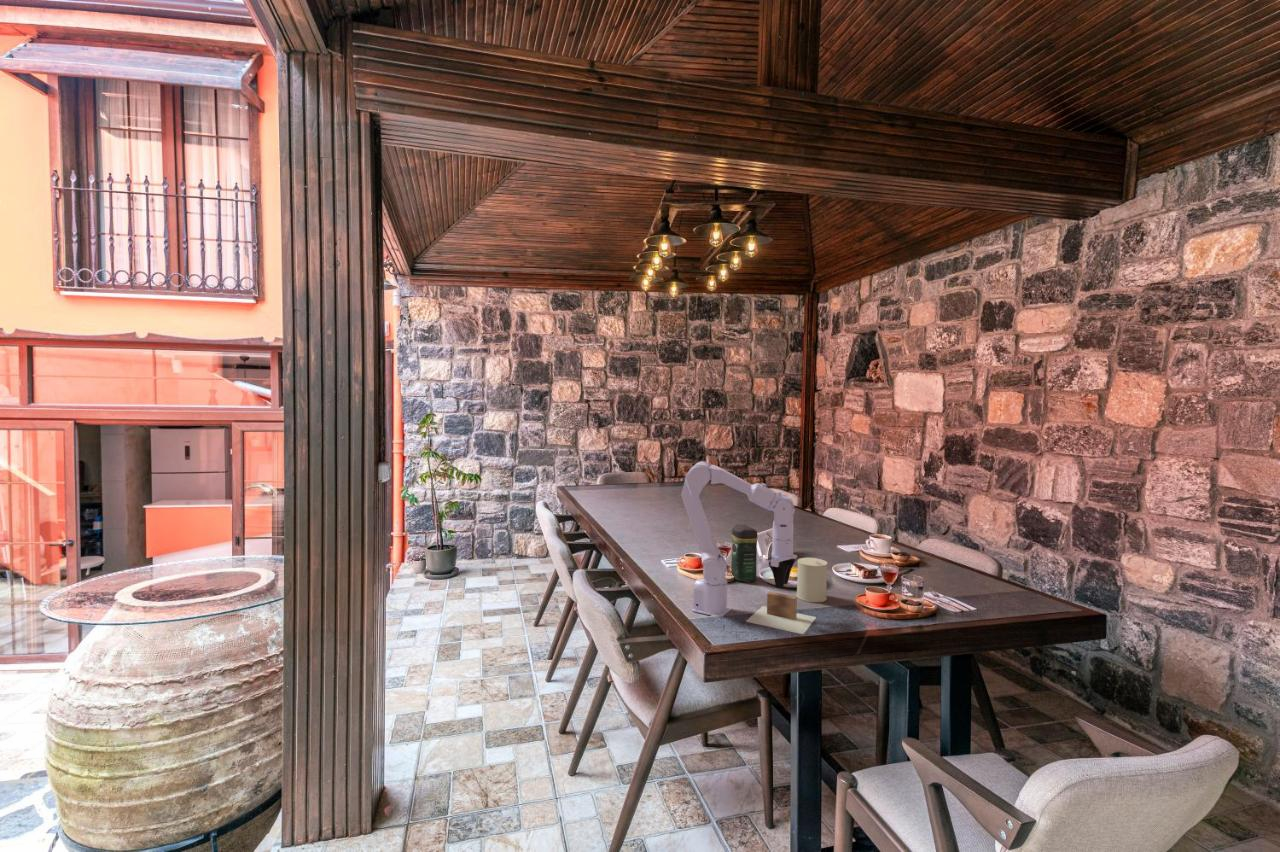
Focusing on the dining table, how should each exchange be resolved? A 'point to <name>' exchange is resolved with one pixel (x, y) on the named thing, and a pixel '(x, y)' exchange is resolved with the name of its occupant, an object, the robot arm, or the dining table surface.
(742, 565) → the coffee jar
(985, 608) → the dining table surface
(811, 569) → the can
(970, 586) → the dining table surface
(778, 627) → the mat
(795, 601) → the walnut slab
